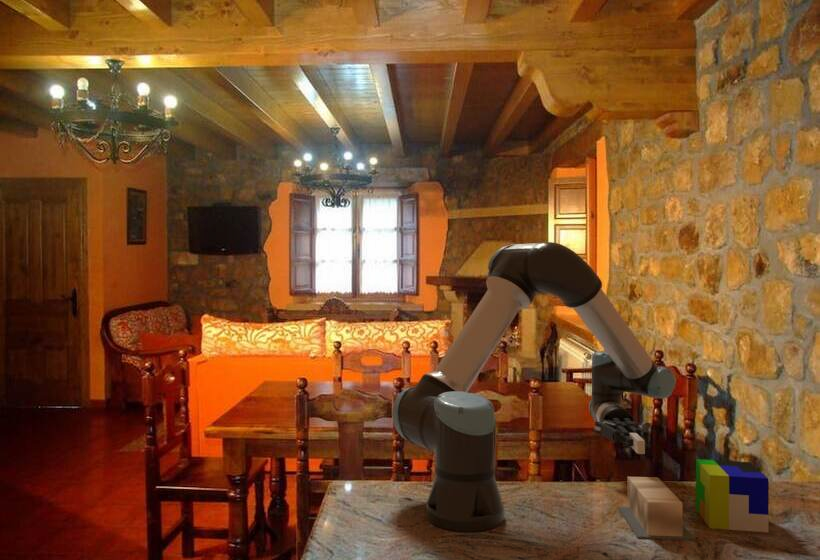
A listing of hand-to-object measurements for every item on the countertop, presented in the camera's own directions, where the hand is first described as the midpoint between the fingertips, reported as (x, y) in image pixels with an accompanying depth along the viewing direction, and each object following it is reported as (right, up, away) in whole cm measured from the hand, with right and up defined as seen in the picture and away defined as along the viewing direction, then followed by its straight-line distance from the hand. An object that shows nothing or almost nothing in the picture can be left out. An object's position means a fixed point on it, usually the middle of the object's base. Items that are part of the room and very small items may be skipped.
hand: (641, 447), depth 127 cm
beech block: (-1, -8, -3) cm, 9 cm away
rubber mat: (-2, -12, -11) cm, 16 cm away
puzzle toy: (+14, -12, -9) cm, 20 cm away
